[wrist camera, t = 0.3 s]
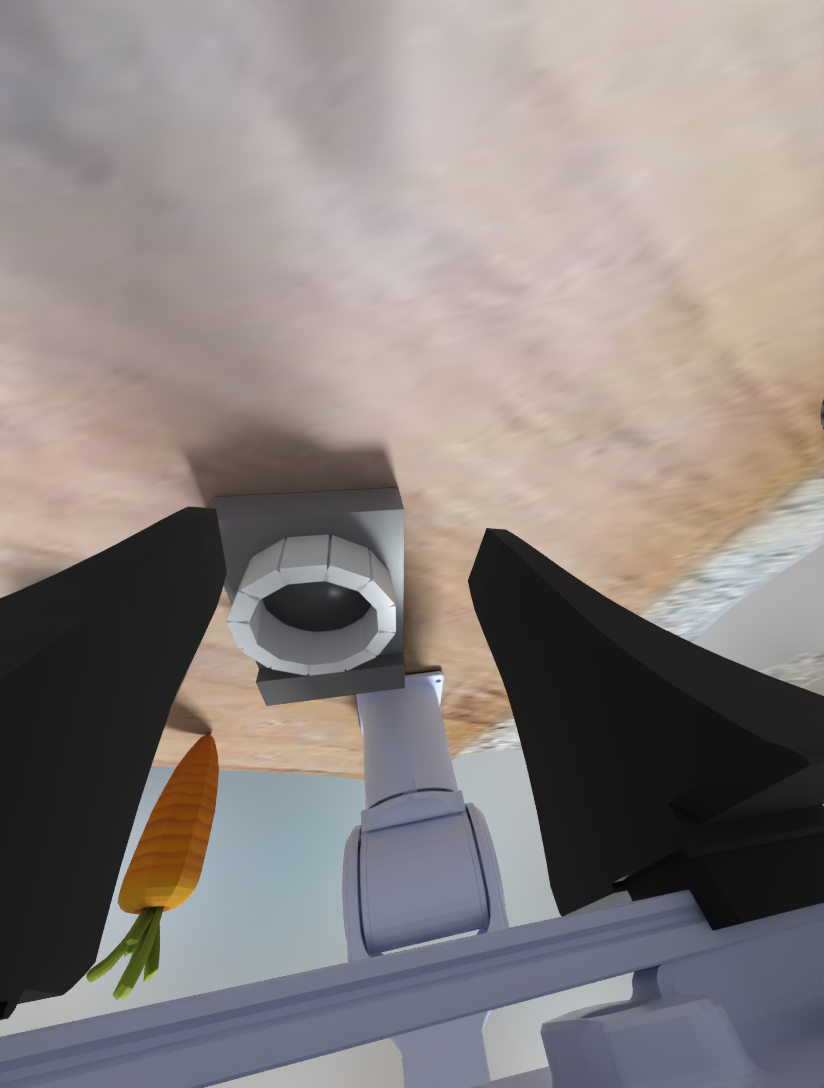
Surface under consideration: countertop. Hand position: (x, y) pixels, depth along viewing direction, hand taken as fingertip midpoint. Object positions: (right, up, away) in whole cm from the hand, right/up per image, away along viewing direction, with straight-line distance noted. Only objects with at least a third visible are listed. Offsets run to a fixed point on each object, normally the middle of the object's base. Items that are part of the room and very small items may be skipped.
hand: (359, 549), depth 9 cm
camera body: (-4, -3, +14) cm, 15 cm away
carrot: (-18, -18, +22) cm, 33 cm away
